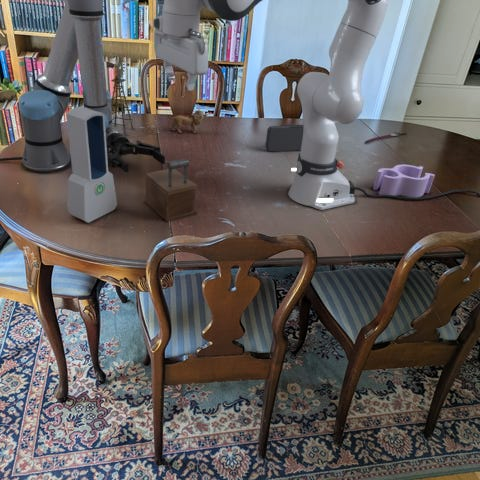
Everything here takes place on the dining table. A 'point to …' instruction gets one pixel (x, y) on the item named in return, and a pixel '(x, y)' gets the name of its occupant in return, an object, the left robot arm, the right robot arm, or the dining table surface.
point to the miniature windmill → (118, 77)
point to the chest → (170, 202)
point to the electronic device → (89, 166)
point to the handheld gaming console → (284, 138)
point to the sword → (384, 137)
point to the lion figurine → (188, 121)
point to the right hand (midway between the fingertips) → (179, 84)
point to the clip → (403, 181)
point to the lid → (172, 178)
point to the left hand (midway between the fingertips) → (145, 164)
